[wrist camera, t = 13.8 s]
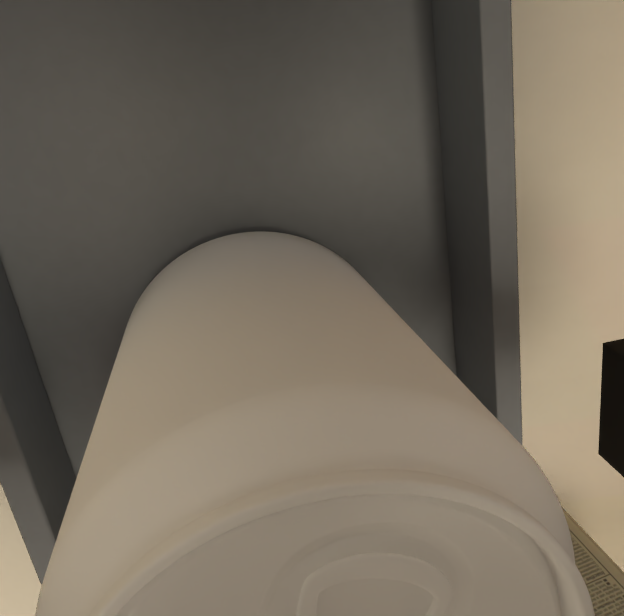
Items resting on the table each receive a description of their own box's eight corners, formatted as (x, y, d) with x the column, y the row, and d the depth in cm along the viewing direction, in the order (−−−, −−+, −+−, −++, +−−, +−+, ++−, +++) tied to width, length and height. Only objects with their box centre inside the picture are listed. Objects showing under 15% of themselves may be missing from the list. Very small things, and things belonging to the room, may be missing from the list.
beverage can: (105, 447, 19) (-31, 947, 8) (149, 199, 17) (46, 392, 5) (344, 475, 21) (512, 905, 10) (411, 256, 19) (730, 485, 7)
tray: (-135, -62, 14) (-241, -115, 11) (442, -129, 16) (507, -191, 12) (74, 525, 20) (49, 608, 17) (474, 431, 22) (524, 490, 19)
